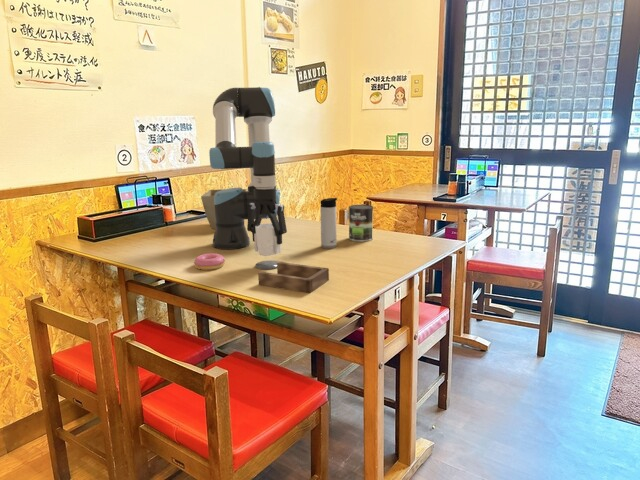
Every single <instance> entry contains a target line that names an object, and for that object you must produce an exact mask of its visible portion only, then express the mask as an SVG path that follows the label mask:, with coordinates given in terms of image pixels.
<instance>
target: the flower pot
mask: <svg viewBox="0 0 640 480" xmlns="http://www.w3.org/2000/svg"><path fill="white" fill-rule="evenodd" d="M242 189H243V191H248V188H242ZM221 190H224V189H223V188H221V189H209V190H208V191H206V192H204V193H203V194H201V195H200V197H201V198H200V199H201V202H202V203H201V204H202V206H203V210H204V213H205V216H206V218H207V221H208V224H209V226H210V229H212V230H216V219H215V205H214V195H215V193H216V192H218V191H221Z"/></svg>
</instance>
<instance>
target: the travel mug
mask: <svg viewBox="0 0 640 480" xmlns="http://www.w3.org/2000/svg"><path fill="white" fill-rule="evenodd" d="M337 201H338V198H337V197H330V198H329V197H328V198H323V199H321V200H320V246H321V248H323V249H326V250H329V249H336V248H337V246H338V245H337V240H338V239H337Z"/></svg>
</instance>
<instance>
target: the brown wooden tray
mask: <svg viewBox="0 0 640 480" xmlns="http://www.w3.org/2000/svg"><path fill="white" fill-rule="evenodd" d="M329 268H330V267H329ZM329 268H328V267H321V266H314V265H305V264H300V263H299V264H298V263H291V262H284V261H278V263H277V268H276V269H277V273H274V272H267V271H258V272H257V276H258V285H259V286H265V287H270V288H276V289H283V290H289V291H295V292H296V291H297V292H301V293H308V294H312V293H313V292H314V291H316V290H317V289H318V288H319V287H321V286H323V285H324V284H325V283H327V282H328V281H329V280H330V277H329V276H330V270H329Z"/></svg>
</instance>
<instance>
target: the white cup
mask: <svg viewBox="0 0 640 480" xmlns="http://www.w3.org/2000/svg"><path fill="white" fill-rule="evenodd" d="M255 230H256V240H257V247H258V251H257V254H258V255H259V256H264V257H269V256H271V257H272V256H275V255H276V254H275V247H274V236H275V235H276V233H275V230H274V227H273V225H272V223H260V225H259V226H255Z"/></svg>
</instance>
